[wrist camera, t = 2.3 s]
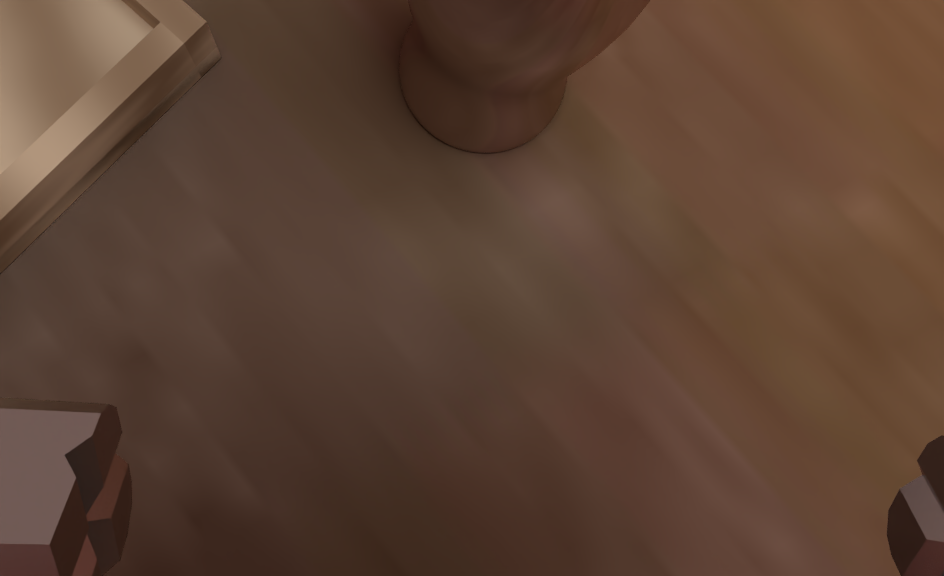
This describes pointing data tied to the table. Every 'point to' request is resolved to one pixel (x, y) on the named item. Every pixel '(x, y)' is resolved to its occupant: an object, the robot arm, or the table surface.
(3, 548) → the robot arm
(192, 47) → the tray
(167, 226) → the table surface
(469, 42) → the beer glass
